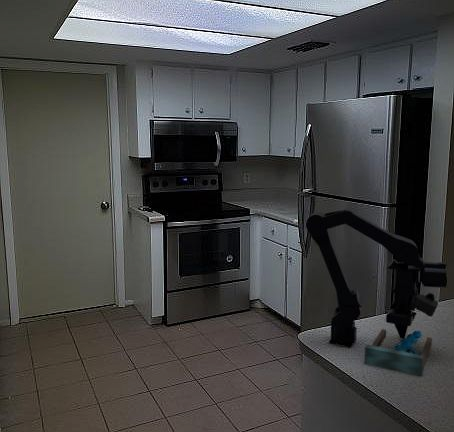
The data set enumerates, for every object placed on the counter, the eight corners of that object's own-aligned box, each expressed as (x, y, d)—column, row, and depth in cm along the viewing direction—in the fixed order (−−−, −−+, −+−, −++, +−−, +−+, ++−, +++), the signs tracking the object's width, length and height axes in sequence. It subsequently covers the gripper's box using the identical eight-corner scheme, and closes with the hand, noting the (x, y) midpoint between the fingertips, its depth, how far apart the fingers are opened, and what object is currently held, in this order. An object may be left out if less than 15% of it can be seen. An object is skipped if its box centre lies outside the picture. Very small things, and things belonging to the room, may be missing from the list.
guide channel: (364, 363, 121) (364, 347, 120) (381, 335, 139) (382, 321, 139) (421, 375, 114) (422, 358, 113) (431, 344, 132) (432, 329, 132)
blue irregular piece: (394, 340, 131) (421, 323, 125) (409, 357, 130) (437, 340, 124) (384, 360, 122) (412, 342, 117) (400, 378, 121) (429, 361, 115)
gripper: (432, 298, 115) (429, 357, 118) (439, 280, 131) (437, 332, 134) (386, 292, 121) (384, 348, 123) (399, 275, 137) (396, 325, 139)
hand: (402, 338), depth 129 cm, fingers closed
